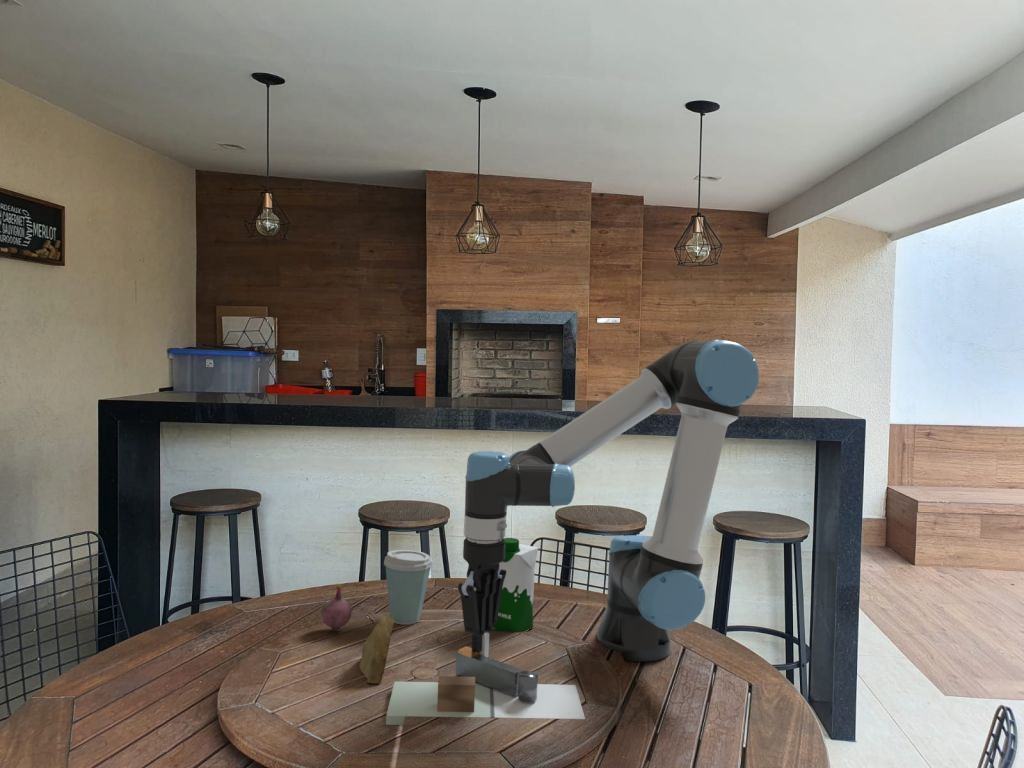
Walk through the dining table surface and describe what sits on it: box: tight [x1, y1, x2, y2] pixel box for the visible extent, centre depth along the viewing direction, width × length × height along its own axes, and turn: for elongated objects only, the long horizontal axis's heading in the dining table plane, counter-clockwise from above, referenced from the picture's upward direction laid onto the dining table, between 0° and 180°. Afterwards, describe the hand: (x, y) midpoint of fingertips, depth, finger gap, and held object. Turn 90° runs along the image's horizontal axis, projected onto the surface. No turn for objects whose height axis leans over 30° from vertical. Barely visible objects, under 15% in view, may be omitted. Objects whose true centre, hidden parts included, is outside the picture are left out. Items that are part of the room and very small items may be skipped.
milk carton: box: [492, 537, 539, 633], centre depth 160 cm, size 9×9×20 cm
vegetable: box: [320, 582, 353, 631], centre depth 155 cm, size 6×6×10 cm
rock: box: [358, 614, 394, 684], centre depth 137 cm, size 11×9×10 cm
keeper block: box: [437, 675, 476, 712], centre depth 122 cm, size 6×3×4 cm, turn 93°
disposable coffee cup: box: [383, 549, 433, 626], centre depth 163 cm, size 11×11×15 cm
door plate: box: [385, 681, 586, 726], centre depth 125 cm, size 32×12×2 cm, turn 93°
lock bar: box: [455, 645, 539, 702], centre depth 129 cm, size 17×3×5 cm, turn 54°
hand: (479, 667), depth 134 cm, fingers closed
